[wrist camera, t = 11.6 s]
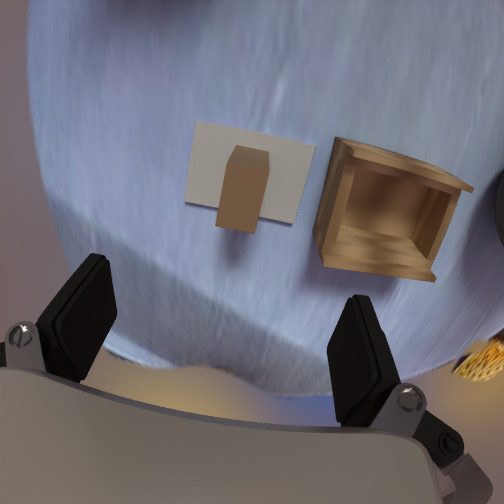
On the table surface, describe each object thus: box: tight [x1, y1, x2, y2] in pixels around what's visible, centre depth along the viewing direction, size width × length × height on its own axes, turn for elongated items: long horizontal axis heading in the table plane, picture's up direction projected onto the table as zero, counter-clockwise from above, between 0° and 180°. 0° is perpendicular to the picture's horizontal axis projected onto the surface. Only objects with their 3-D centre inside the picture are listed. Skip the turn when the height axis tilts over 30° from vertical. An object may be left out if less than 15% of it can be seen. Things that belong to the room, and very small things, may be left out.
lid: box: [184, 121, 315, 234], centre depth 25 cm, size 11×8×8 cm
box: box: [313, 137, 473, 282], centre depth 26 cm, size 12×10×7 cm
